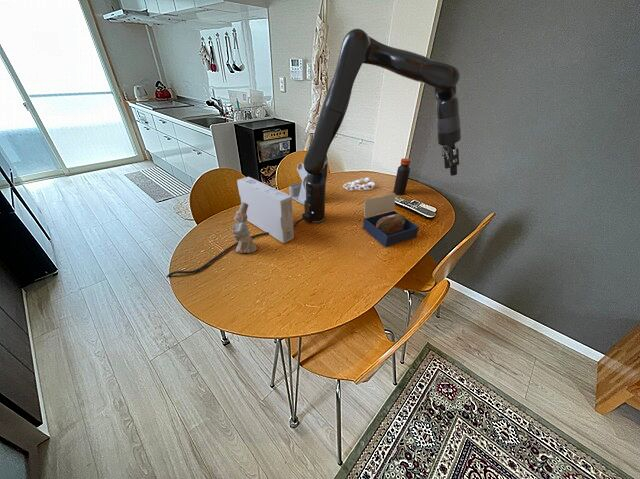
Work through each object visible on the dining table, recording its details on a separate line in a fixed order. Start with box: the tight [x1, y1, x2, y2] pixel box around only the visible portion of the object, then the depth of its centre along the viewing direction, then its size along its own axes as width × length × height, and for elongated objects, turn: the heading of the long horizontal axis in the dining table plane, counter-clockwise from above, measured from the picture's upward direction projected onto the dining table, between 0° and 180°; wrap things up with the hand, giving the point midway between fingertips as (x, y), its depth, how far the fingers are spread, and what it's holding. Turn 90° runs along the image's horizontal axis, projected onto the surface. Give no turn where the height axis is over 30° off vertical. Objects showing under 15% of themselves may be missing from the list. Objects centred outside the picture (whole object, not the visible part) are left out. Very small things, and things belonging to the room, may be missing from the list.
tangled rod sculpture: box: [342, 176, 377, 192], centre depth 159 cm, size 19×14×4 cm
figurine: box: [231, 202, 258, 254], centre depth 101 cm, size 9×8×20 cm
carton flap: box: [363, 192, 396, 218], centre depth 119 cm, size 18×8×1 cm
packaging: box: [236, 176, 295, 244], centre depth 114 cm, size 30×6×20 cm, turn 47°
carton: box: [362, 210, 420, 248], centre depth 117 cm, size 18×17×5 cm
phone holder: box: [288, 162, 307, 206], centre depth 141 cm, size 17×10×18 cm, turn 42°
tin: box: [376, 213, 407, 235], centre depth 116 cm, size 15×3×8 cm, turn 114°
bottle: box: [393, 157, 411, 196], centre depth 149 cm, size 7×7×20 cm
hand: (450, 171), depth 101 cm, fingers open, 8 cm apart
